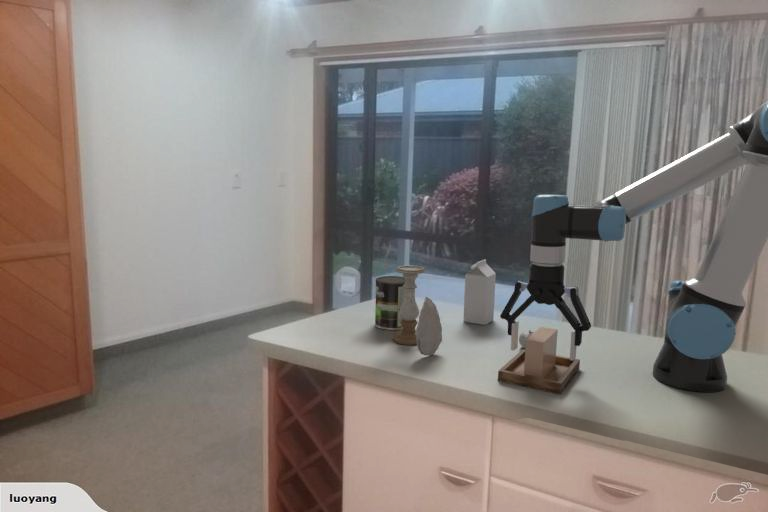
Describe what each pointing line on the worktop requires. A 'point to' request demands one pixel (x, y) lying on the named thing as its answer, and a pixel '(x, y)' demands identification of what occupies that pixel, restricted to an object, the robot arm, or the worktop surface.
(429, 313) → the stone tool
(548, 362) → the tan rectangular block
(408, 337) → the candle holder
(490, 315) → the milk carton
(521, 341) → the garlic
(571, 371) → the tray
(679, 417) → the worktop surface
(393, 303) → the coffee can
